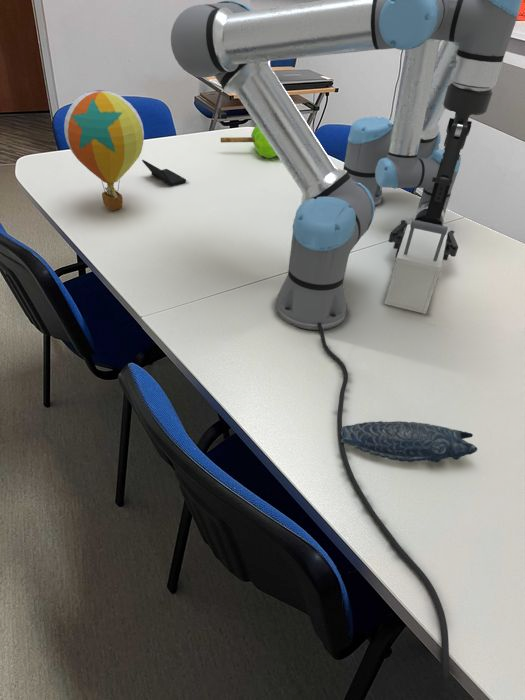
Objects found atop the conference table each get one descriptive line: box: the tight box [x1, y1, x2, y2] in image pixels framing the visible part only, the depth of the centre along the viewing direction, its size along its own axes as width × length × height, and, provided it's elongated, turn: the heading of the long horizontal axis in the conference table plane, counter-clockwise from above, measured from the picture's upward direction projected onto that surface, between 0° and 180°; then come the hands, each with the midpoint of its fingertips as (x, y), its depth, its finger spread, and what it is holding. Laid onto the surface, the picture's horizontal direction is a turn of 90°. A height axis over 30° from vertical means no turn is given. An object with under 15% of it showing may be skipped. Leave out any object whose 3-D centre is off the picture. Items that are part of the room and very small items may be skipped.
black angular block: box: [141, 159, 187, 187], centre depth 162 cm, size 12×7×10 cm
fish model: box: [340, 420, 478, 463], centre depth 82 cm, size 7×21×5 cm, turn 84°
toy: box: [63, 89, 145, 212], centre depth 136 cm, size 20×20×30 cm
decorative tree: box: [220, 124, 278, 159], centre depth 187 cm, size 18×10×30 cm
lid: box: [395, 219, 449, 273], centre depth 112 cm, size 18×9×9 cm, turn 160°
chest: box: [384, 261, 440, 315], centre depth 119 cm, size 17×9×11 cm, turn 160°
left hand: (436, 203), depth 102 cm, fingers open, 13 cm apart
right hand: (419, 257), depth 123 cm, fingers closed on chest, 9 cm apart
